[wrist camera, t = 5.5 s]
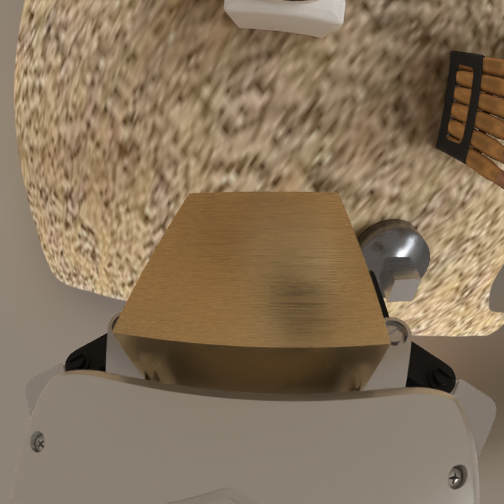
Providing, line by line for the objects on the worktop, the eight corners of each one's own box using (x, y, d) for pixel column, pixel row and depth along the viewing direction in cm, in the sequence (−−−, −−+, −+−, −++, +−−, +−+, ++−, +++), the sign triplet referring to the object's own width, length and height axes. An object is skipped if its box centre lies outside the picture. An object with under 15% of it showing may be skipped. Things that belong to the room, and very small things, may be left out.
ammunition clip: (450, 50, 15) (540, 61, 5) (464, 57, 15) (553, 74, 5) (435, 147, 21) (512, 205, 11) (449, 152, 21) (524, 210, 11)
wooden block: (338, 193, 10) (390, 343, 5) (322, 299, 14) (334, 429, 8) (189, 193, 11) (111, 332, 5) (209, 297, 15) (178, 420, 9)
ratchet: (429, 220, 26) (454, 253, 21) (410, 281, 31) (425, 316, 26) (191, 221, 29) (174, 257, 24) (206, 284, 34) (195, 323, 29)
